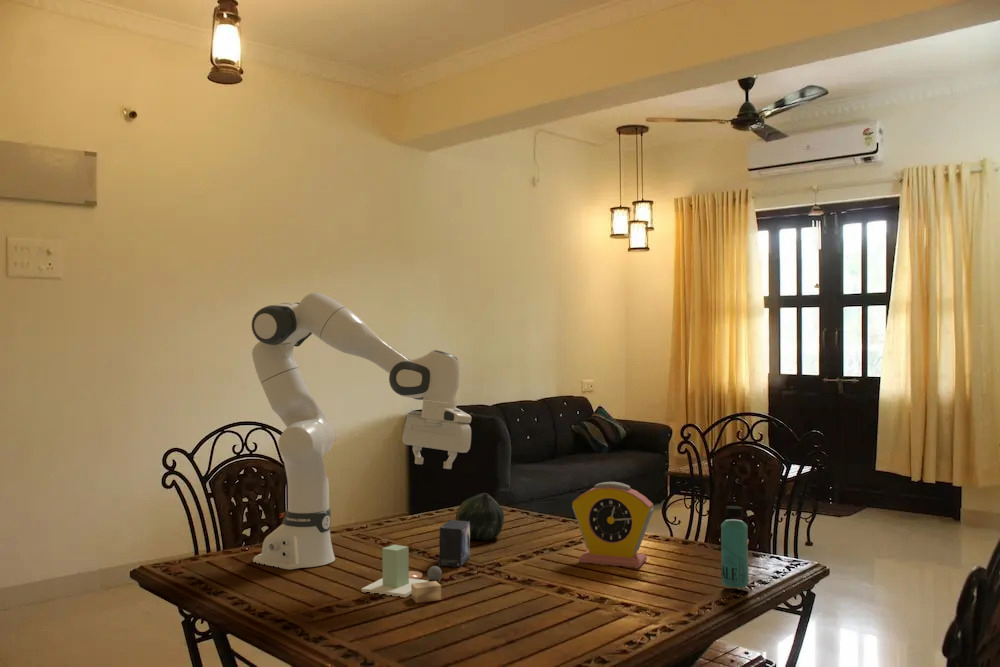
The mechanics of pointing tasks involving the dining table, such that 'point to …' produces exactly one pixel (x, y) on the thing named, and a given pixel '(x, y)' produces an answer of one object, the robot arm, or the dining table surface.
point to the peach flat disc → (415, 575)
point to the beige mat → (391, 588)
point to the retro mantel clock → (613, 524)
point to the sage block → (395, 566)
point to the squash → (482, 516)
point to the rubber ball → (434, 573)
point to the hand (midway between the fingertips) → (432, 466)
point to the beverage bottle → (734, 549)
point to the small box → (454, 543)
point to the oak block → (426, 591)
